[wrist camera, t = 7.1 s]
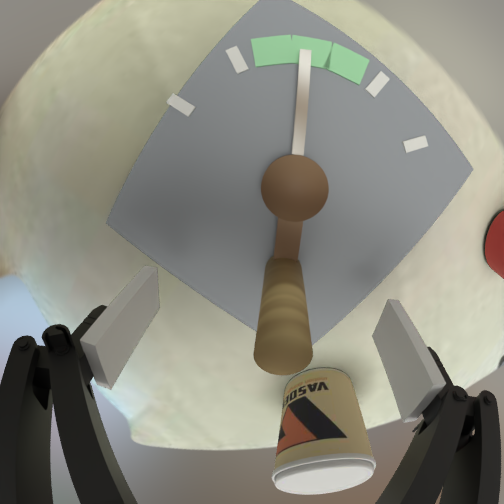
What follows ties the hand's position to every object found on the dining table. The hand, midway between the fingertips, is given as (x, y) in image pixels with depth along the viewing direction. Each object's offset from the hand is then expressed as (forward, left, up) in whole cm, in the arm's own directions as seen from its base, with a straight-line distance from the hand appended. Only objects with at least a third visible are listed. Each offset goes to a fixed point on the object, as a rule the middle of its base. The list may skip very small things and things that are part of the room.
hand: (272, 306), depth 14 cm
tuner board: (-3, +5, -7) cm, 9 cm away
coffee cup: (+14, -10, -8) cm, 19 cm away
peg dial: (-3, +5, -5) cm, 8 cm away
